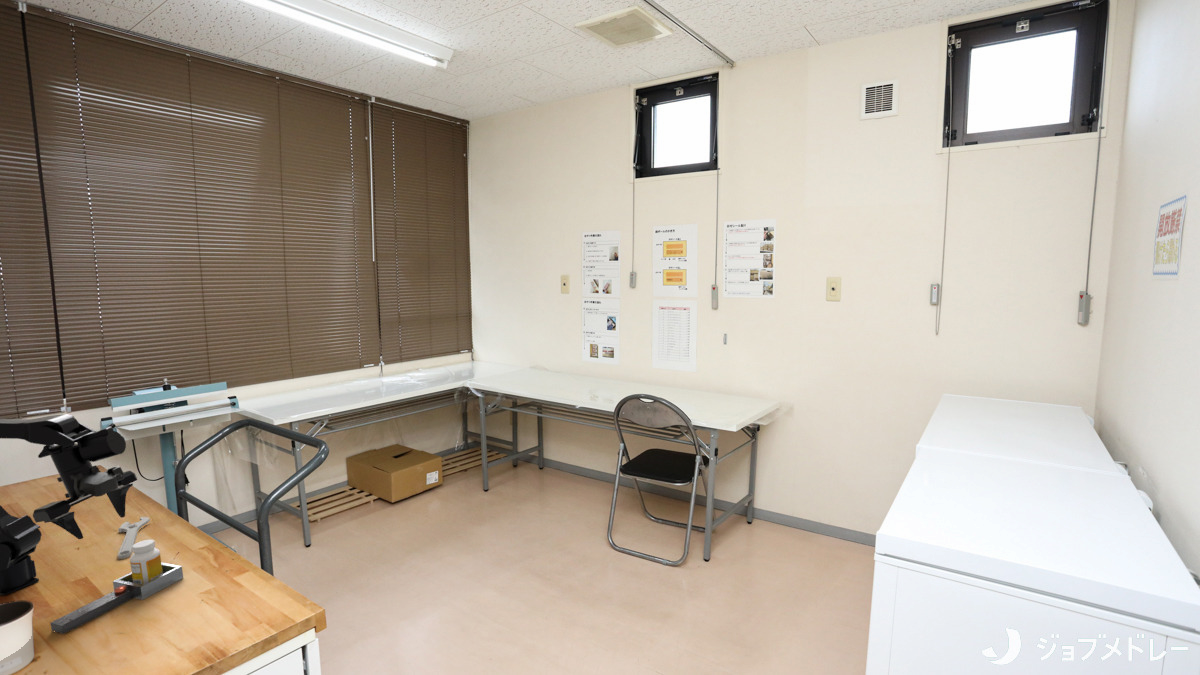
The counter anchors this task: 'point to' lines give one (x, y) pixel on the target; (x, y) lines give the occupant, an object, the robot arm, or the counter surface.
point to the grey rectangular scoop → (118, 597)
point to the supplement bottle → (145, 562)
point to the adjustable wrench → (130, 536)
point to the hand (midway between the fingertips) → (102, 527)
